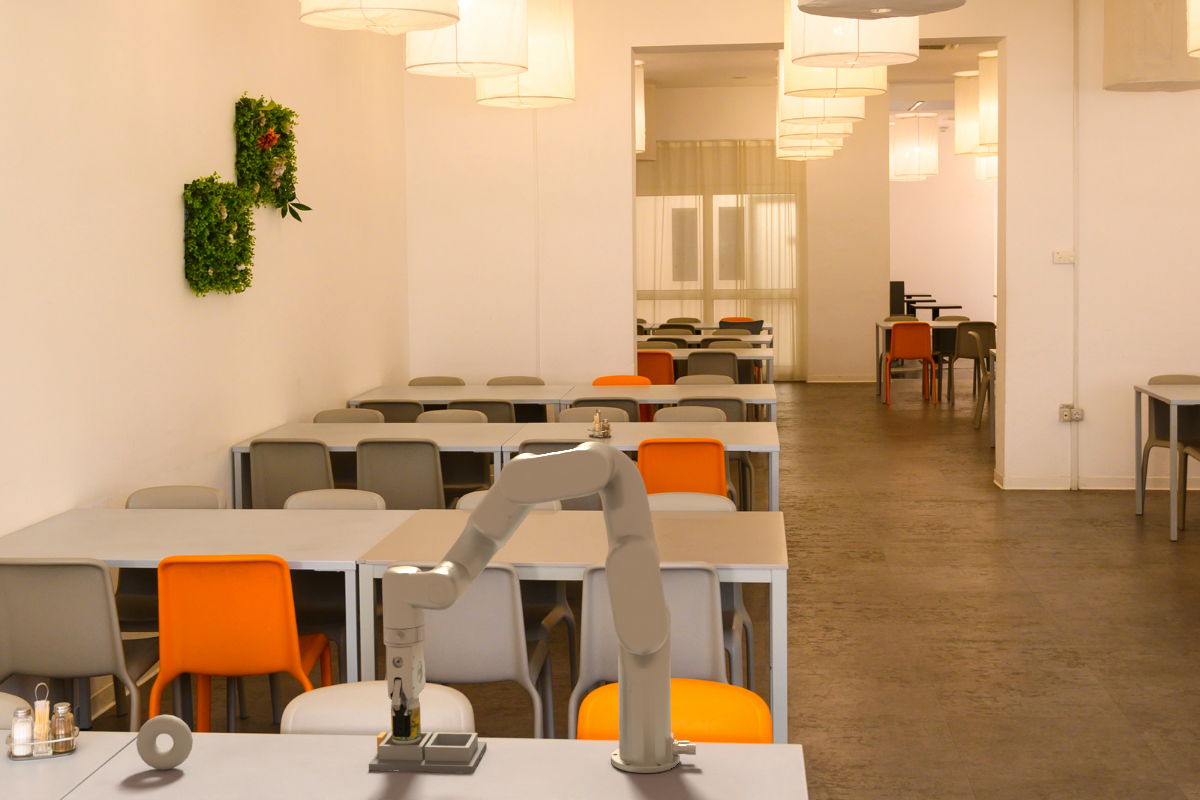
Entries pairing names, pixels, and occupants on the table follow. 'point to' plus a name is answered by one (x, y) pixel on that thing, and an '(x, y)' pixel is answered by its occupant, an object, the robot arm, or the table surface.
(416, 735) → the supplement bottle
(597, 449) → the robot arm
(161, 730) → the donut
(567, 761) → the table surface
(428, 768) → the compartment tray
